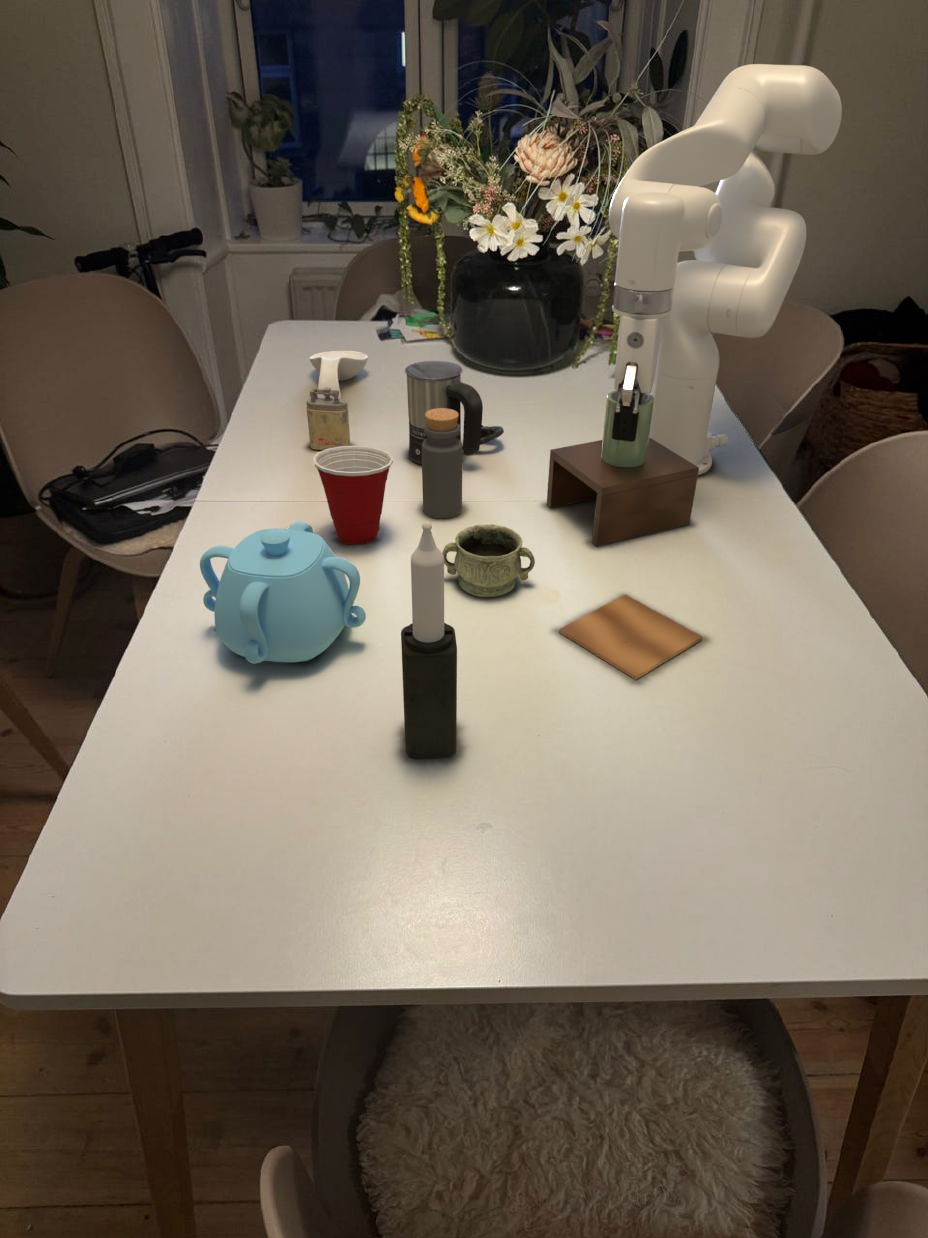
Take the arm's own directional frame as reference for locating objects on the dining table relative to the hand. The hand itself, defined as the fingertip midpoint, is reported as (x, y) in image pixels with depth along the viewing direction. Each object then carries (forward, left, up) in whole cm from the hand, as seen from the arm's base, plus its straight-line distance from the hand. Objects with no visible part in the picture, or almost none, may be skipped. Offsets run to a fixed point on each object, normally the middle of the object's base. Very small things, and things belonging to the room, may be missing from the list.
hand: (626, 427), depth 123 cm
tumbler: (0, 0, -5) cm, 5 cm away
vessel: (+26, +9, -14) cm, 31 cm away
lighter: (+31, -41, -14) cm, 53 cm away
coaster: (+16, +27, -14) cm, 34 cm away
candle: (+45, +34, -14) cm, 58 cm away
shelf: (0, 0, -14) cm, 14 cm away
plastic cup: (+37, -10, -14) cm, 41 cm away
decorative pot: (+53, +10, -14) cm, 56 cm away
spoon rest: (+20, -70, -14) cm, 74 cm away
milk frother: (+12, -31, -14) cm, 36 cm away
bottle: (+23, -12, -14) cm, 29 cm away
